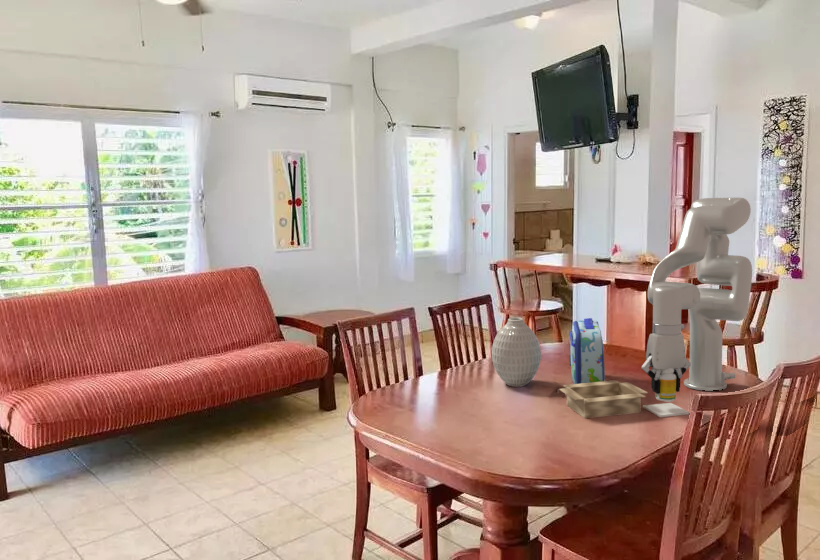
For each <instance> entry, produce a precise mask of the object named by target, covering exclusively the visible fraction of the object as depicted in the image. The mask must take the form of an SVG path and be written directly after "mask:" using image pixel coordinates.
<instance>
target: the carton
mask: <svg viewBox="0 0 820 560" xmlns="http://www.w3.org/2000/svg"><path fill="white" fill-rule="evenodd" d="M562 387H563V388H559V391H560V392H562V393H564V394H565V395H566V406H567V407H569V409H571V410H573V411H575V413H577V414H578V415H579V416H580V417H582V418H583V419H588V418H589V419H591V418H599V417H607V416H608V417H609V416H618V415H619V416H620V415H627V414H629V415H630V414H639V413H641V411H642V409H641V407H642V406H641V405H642V404H641V399H642V398H646V395H645V394H648V391H646V390H644V389H641V388H640V387H638V386H636V385H634V384H632V383H631V382H628V381H626V382H620V381H618V380H616V379H615V380H605V381H602V382H591V383H581V384H562Z"/></svg>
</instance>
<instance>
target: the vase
mask: <svg viewBox="0 0 820 560" xmlns="http://www.w3.org/2000/svg"><path fill="white" fill-rule="evenodd" d="M491 346H492V347H491V360H492V364H493V368H494V371H495V372H496V373H497V375H498V376H499V379H501V380H502V381H503V382H504V383H505V384H506V385H507V386H508V387H509V386H510V387H518V388H519V387H524V386H527V385H528V384H529V383H530V382H531V381H532V380H533V378H534V377H535V376H536V374H537V372H538V370H539V368H540V364H541V360H542V351H541V350H542V349H541V344H540V340H539V339H538V337H537V335H536V333H535V332H534V331H533V330H532V329H531V327H530V326H528V325H527V323H525V321H524V319H523V318H522V317H510V318H508V319H507V322H506V324H504V325H503V326H502V327H501V328H500V330H499V331H498V332H497V334H496V335H495V337H494V340H493V343H492V345H491Z"/></svg>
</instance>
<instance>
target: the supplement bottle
mask: <svg viewBox="0 0 820 560" xmlns="http://www.w3.org/2000/svg"><path fill="white" fill-rule="evenodd" d="M673 372H674V369H673V368H671V369H665V370H661V372H660V375H659V378H658V380H660V393H659V394H657V393H655V399H656V400H657V401H660V402H665V403H672V402H674V401H675V400H676V398H677V397H676V395H677V392H676V375H675V374H673Z"/></svg>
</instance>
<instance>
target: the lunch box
mask: <svg viewBox="0 0 820 560" xmlns="http://www.w3.org/2000/svg"><path fill="white" fill-rule="evenodd" d="M569 340H570V343H569V344H570V345H569V347H570V350H569V351H570V355H569V367H570V370H571V371H570V373H571V374H570V375H571V380H572V382H573V384H581V383H591V382H602V381H606V380H605V379H606V377H605V376H606V374H605V373H606V372H605V371H606V370H605V368H606V367H605V348H604V340H603V336H602V330H601V328H600V325H599V321H598V320H593V318H592V317H590V318H589V317H588V318H587V317H586V318H583V320H578V321H577V320H574V321H573V322H572V328H571V330H570V331H569Z"/></svg>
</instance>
